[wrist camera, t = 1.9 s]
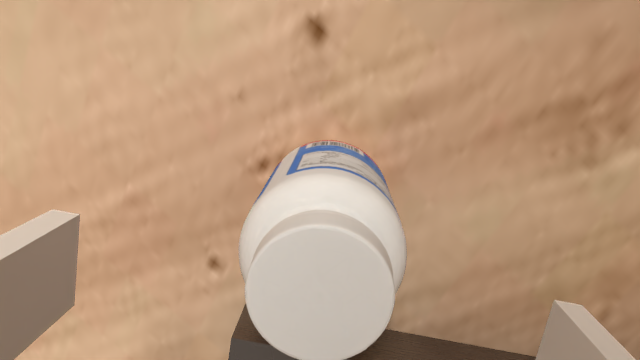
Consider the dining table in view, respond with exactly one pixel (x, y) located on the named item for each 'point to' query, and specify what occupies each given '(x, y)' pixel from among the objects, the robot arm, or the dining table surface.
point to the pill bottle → (322, 253)
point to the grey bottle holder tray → (382, 356)
